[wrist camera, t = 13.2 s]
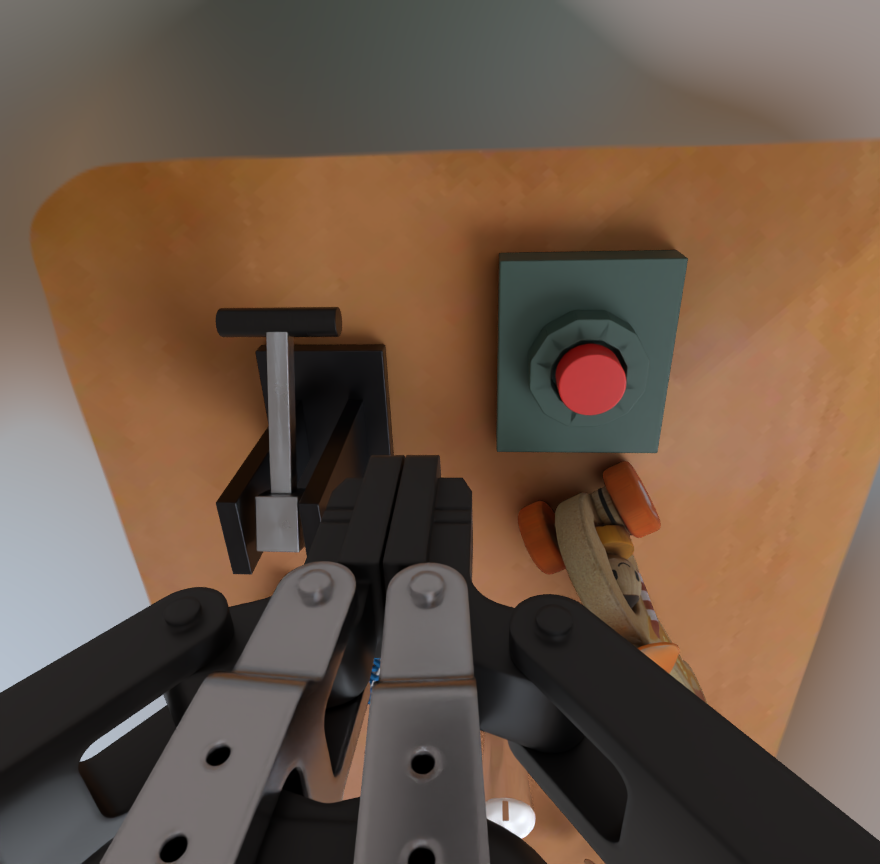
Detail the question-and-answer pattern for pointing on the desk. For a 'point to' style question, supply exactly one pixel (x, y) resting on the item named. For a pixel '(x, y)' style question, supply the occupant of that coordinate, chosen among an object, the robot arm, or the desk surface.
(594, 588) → the toy helicopter
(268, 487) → the bracket
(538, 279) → the button block
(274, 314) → the lever
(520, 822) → the milkshake
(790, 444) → the desk surface
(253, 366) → the desk surface
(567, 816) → the robot arm
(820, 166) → the desk surface
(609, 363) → the button
